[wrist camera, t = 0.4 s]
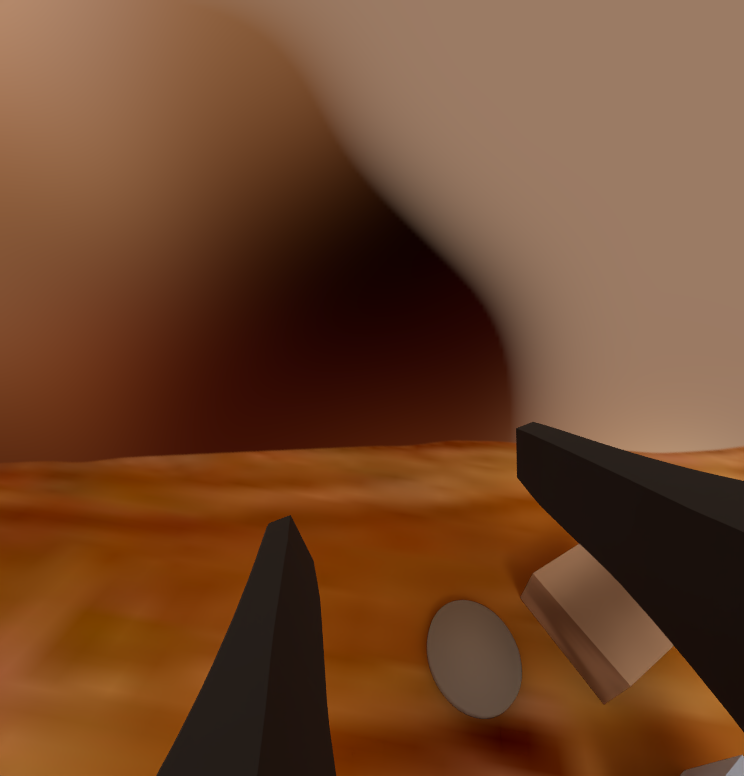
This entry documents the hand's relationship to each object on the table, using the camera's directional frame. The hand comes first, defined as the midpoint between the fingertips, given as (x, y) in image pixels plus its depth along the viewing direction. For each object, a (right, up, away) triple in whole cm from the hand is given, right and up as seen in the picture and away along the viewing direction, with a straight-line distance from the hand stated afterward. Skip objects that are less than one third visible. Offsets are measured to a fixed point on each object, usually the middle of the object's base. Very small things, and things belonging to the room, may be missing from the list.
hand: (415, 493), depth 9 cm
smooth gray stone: (+6, -15, +12) cm, 20 cm away
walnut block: (+15, -14, +13) cm, 24 cm away
